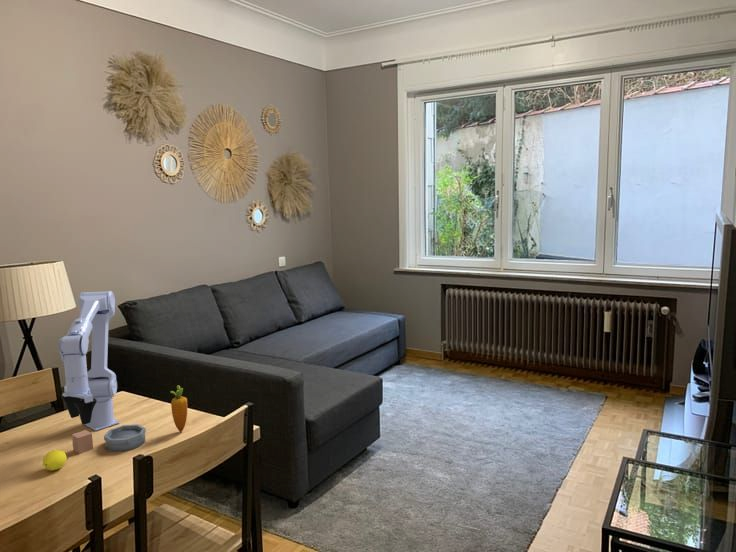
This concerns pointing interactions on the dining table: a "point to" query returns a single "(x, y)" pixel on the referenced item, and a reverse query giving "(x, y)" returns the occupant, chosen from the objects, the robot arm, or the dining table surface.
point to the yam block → (82, 441)
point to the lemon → (54, 460)
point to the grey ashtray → (125, 438)
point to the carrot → (179, 409)
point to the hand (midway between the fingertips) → (80, 420)
